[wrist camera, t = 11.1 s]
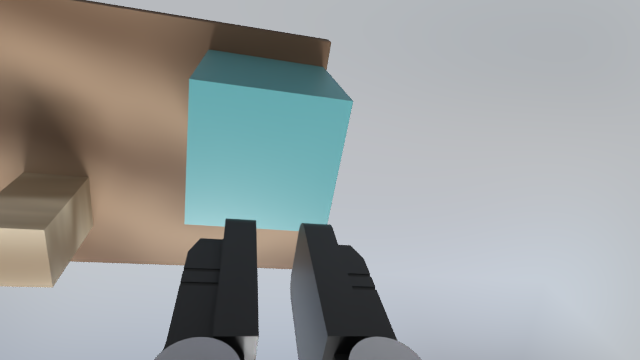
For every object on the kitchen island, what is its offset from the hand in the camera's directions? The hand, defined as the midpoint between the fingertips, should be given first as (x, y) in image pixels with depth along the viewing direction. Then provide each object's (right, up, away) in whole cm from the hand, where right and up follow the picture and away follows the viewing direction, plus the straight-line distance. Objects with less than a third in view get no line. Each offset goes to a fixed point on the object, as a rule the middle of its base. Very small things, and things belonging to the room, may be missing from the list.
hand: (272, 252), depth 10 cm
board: (-7, +3, +12) cm, 14 cm away
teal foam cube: (-2, +5, +11) cm, 12 cm away
